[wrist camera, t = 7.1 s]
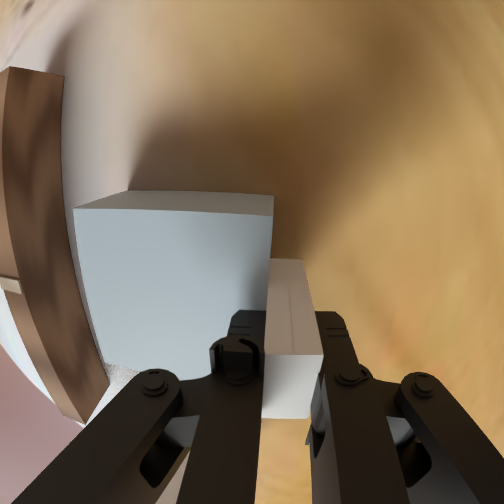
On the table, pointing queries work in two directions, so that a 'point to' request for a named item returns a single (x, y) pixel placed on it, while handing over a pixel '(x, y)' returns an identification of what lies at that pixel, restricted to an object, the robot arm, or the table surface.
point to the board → (42, 244)
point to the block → (172, 272)
